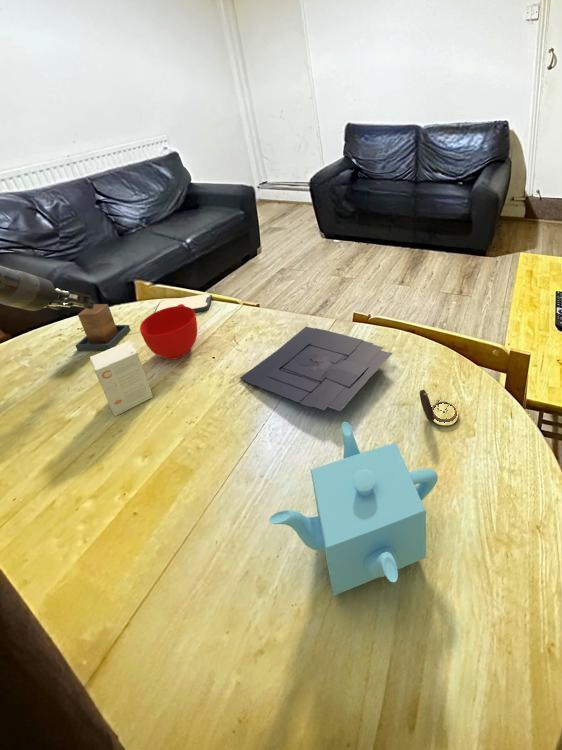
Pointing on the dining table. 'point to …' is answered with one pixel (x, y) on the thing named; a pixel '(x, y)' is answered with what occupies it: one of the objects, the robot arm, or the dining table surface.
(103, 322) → the pad block
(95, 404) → the dining table surface
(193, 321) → the ceramic cup
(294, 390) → the dark grey flat slab
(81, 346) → the cradle
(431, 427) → the dining table surface
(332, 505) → the teakettle
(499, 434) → the dining table surface
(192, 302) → the phone case
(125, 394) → the small box
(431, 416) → the compass
